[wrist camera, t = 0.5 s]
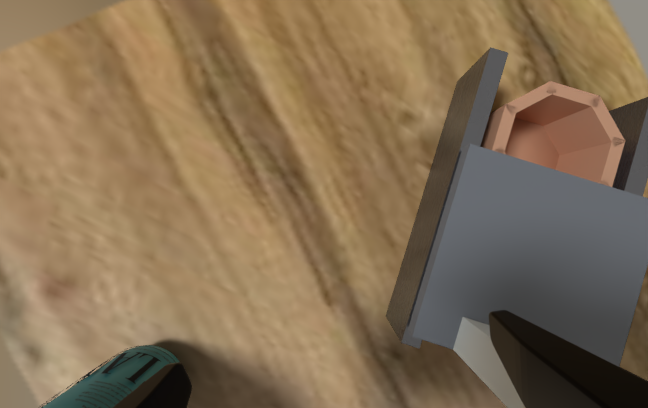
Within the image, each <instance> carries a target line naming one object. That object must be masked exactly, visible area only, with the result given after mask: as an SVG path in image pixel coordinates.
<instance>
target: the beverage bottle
mask: <svg viewBox="0 0 648 408" xmlns="http://www.w3.org/2000/svg"><path fill="white" fill-rule="evenodd" d="M135 347H136V348H132V347H131V348H132V349H129V350H125V352H124V351H123V353H121V354H119V353H117V354H119V355H118V356H117V355H116V356H117V357H115V356H113V357H115V358H114V359H113V360H111V361H110V362H107V361H106V362H107V363H106V362H104V363H106V364H105V365H104V364H103V365H104V366H103V365H102V364H101V365H102V367H101V368H99V369H98V370H96V371H95V372H94V373H92V374H91V375H90V373H91V372H92V371H94V370H95V369H96V368H95V369H94V370H92V371H91V372H89V373H88V374H87V375H85V376H84V377H82V378H84V379H83V380H81V381H80V382H79V381H78V380H77V381H78V382H77V383H76V385H73V386H72V388H70V389H69V390H67V391H66V392H64V393H63V394H61V395H60V396H58V395H59V394H60V393H61V392H62V391H63V390H62V391H61V392H59V394H58V395H57V396H58V397H57V398H56V397H55V396H56V395H55V396H53V398H54V397H55V399H54V400H53V401H51V400H50V399H49V400H50V401H51V402H50V403H47V402H46V403H47V404H46V405H45V406H44V405H43V406H44V407H43V406H42V408H112V407H114V406H115V405H116V404H117V403H119V402H120V401H121V400H123V399H124V398H125V397H126V396H128V395H129V394H130V393H131V392H133V391H134V390H135V389H136V388H138V387H139V386H140V385H141V384H143V383H144V382H145V381H146V380H148V379H149V378H150V377H151V376H153V375H154V374H155V373H156V372H158V371H159V370H160V369H161V368H163V367H164V366H165V365H167V364H171V363H177V362H179V360H178V359H177V358H176V357H175V356H174V355H173V354H172V353H171V352H169V351H168V350H166V349H164V348H161V347H158V346H152V345H145V346H139V347H137V346H135ZM127 349H128V348H127ZM111 359H112V357H111ZM101 365H100V366H101ZM98 367H99V366H98ZM86 376H88V377H86ZM85 377H86V378H85ZM80 379H81V378H80ZM70 386H71V385H70ZM67 388H68V387H67ZM40 407H41V406H40Z"/></svg>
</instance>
